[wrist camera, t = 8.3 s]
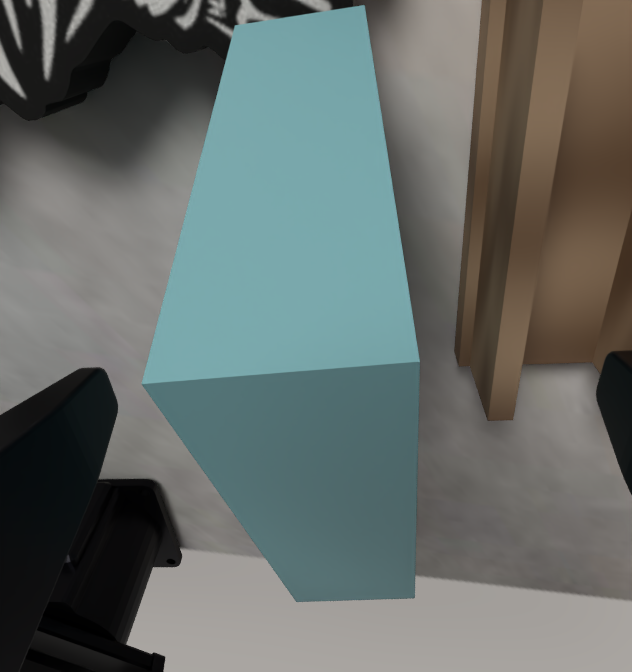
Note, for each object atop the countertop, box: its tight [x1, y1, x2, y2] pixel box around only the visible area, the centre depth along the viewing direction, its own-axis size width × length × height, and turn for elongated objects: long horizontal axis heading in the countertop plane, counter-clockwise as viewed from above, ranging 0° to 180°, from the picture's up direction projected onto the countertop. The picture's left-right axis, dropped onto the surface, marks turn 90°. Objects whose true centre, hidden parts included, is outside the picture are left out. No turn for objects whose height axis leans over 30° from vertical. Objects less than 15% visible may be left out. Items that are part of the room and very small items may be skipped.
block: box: [142, 5, 420, 602], centre depth 12 cm, size 10×3×10 cm, turn 8°
